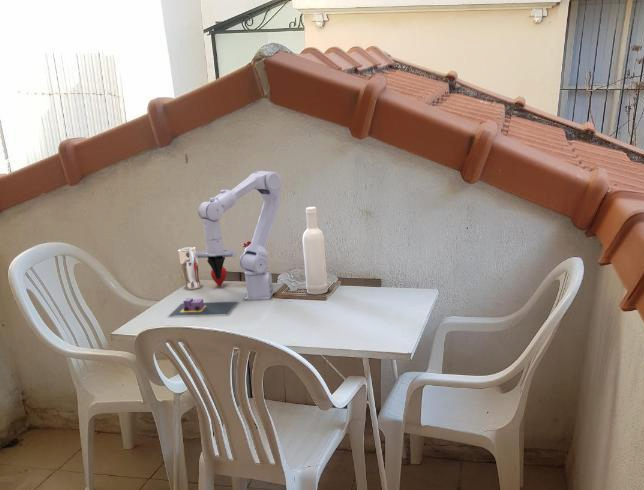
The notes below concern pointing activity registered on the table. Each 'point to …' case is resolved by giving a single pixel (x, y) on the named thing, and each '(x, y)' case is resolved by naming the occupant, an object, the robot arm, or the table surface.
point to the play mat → (206, 309)
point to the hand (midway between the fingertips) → (218, 278)
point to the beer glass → (189, 267)
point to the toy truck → (193, 304)
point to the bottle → (314, 255)
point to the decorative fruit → (221, 280)
